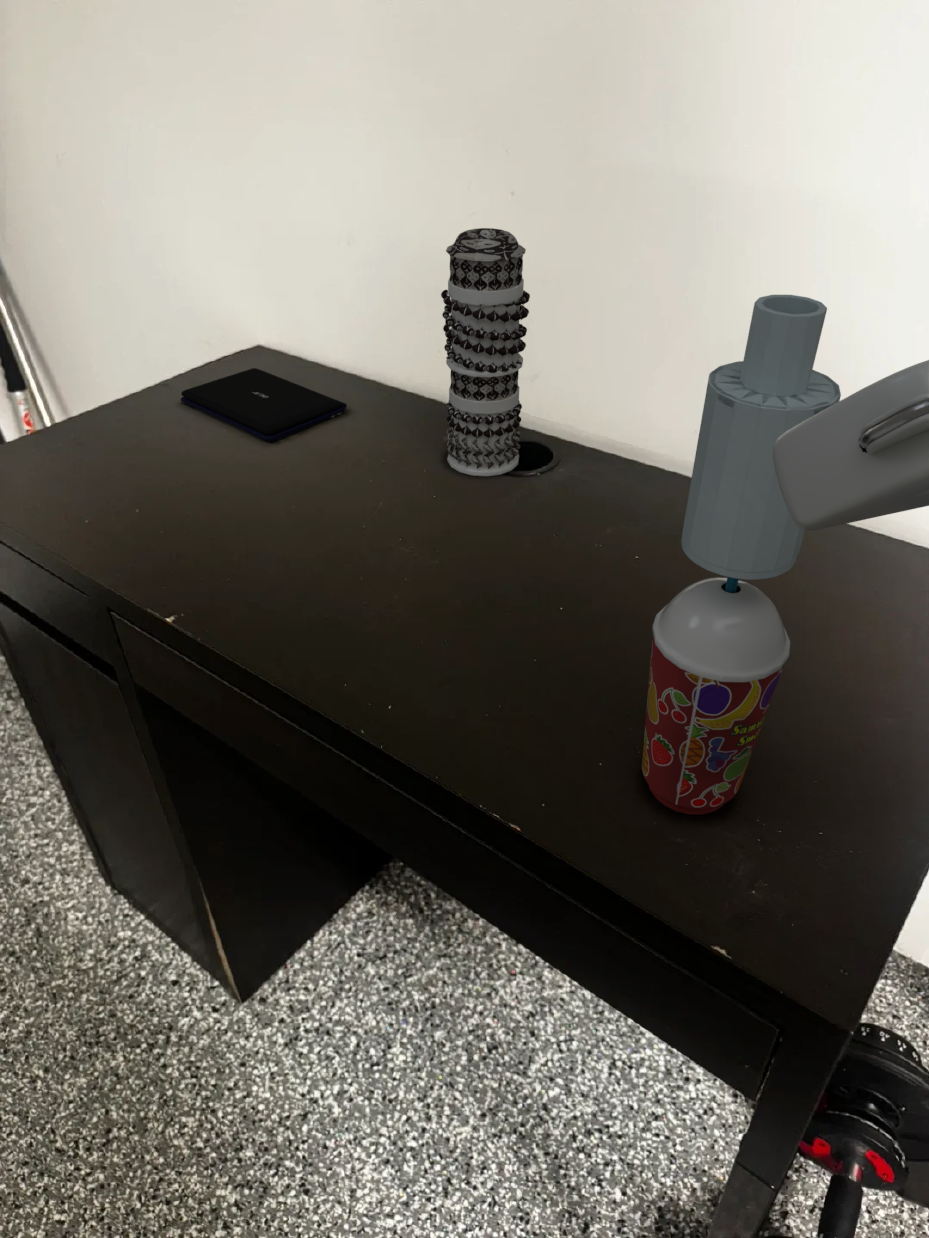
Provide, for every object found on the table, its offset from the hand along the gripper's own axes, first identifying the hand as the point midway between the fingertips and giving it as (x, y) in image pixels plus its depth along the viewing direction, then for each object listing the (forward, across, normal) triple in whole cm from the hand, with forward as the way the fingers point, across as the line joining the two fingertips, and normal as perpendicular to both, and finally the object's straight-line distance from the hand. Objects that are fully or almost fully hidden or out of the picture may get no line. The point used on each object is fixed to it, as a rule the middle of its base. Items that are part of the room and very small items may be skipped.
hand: (896, 488), depth 40 cm
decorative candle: (+64, +5, +24) cm, 68 cm away
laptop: (+80, -17, +41) cm, 91 cm away
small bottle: (+12, 0, 0) cm, 12 cm away
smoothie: (+27, 0, -14) cm, 30 cm away
